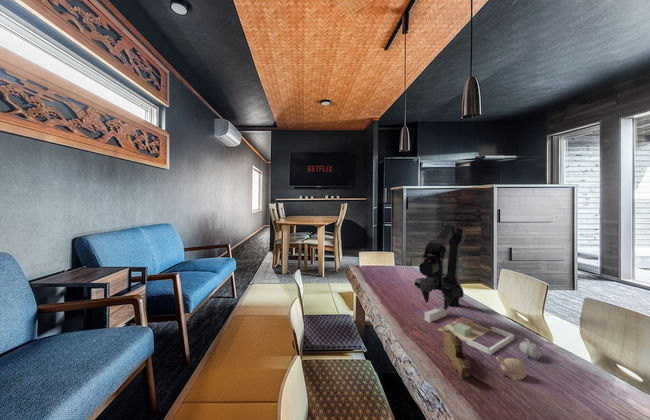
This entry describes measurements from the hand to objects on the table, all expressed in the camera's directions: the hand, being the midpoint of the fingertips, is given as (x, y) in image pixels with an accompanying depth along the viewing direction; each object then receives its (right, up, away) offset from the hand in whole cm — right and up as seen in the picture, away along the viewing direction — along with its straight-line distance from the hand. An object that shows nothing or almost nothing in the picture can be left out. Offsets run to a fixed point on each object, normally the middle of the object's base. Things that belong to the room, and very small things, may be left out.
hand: (435, 306), depth 111 cm
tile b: (+5, -6, -13) cm, 15 cm away
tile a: (+8, -5, -8) cm, 12 cm away
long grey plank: (0, -7, 0) cm, 7 cm away
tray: (+12, -7, -19) cm, 23 cm away
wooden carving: (-7, -8, -30) cm, 32 cm away
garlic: (+21, -7, -25) cm, 34 cm away
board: (+7, -7, -10) cm, 14 cm away
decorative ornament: (+8, -8, -35) cm, 36 cm away
